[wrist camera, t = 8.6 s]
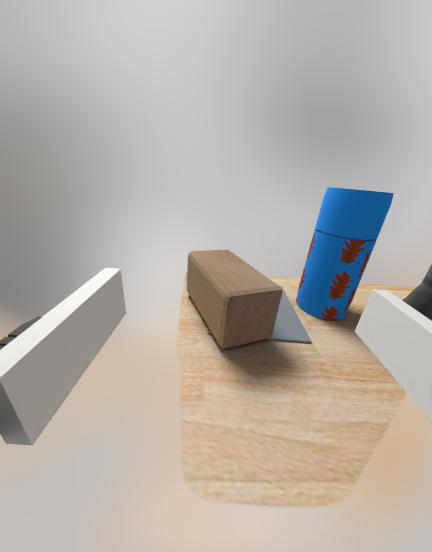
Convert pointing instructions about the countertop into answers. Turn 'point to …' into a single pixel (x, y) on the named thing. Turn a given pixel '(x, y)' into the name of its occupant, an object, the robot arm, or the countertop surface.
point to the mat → (287, 324)
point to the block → (232, 297)
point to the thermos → (340, 250)
